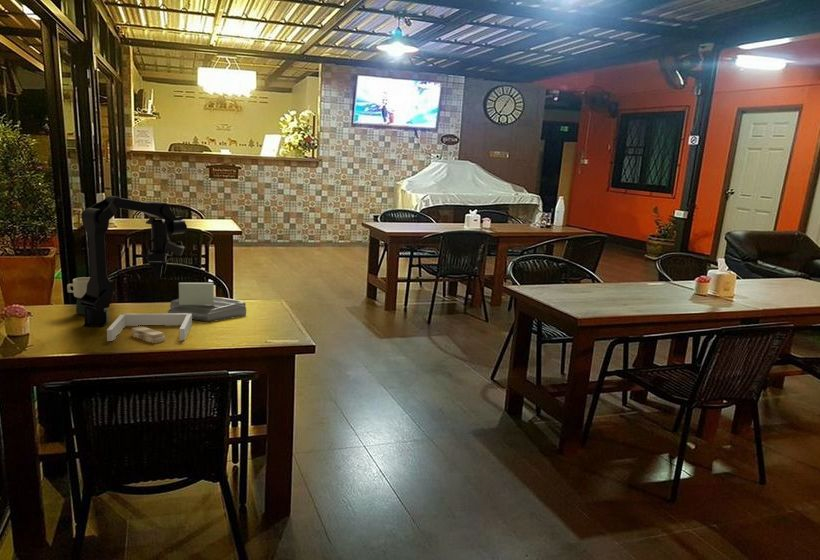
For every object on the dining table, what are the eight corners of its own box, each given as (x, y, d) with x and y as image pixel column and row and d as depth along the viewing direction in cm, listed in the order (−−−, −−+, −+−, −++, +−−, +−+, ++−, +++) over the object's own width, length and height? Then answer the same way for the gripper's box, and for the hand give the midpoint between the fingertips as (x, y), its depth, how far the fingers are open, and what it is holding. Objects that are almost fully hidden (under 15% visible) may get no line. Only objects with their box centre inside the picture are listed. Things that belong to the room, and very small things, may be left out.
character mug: (104, 310, 219) (102, 276, 216) (100, 315, 212) (98, 280, 209) (71, 311, 215) (69, 277, 213) (66, 316, 209) (64, 281, 206)
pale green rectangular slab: (179, 304, 217) (178, 283, 215) (179, 303, 218) (179, 282, 217) (213, 304, 220) (213, 283, 218) (213, 303, 221) (213, 282, 220)
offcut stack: (131, 337, 192) (131, 328, 191) (142, 334, 195) (142, 325, 194) (154, 344, 185) (154, 335, 185) (165, 341, 189) (165, 333, 188)
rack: (107, 341, 184) (106, 329, 184) (122, 324, 203) (121, 313, 202) (184, 340, 190) (184, 328, 189) (192, 324, 208) (192, 313, 208)
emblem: (245, 291, 241) (246, 308, 215) (245, 304, 242) (246, 322, 216) (172, 292, 233) (164, 310, 207) (172, 305, 234) (164, 324, 208)
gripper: (179, 239, 213) (179, 281, 216) (185, 233, 230) (186, 271, 233) (146, 238, 210) (147, 281, 213) (155, 232, 228) (156, 271, 231)
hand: (161, 276), depth 223 cm, fingers open, 9 cm apart
